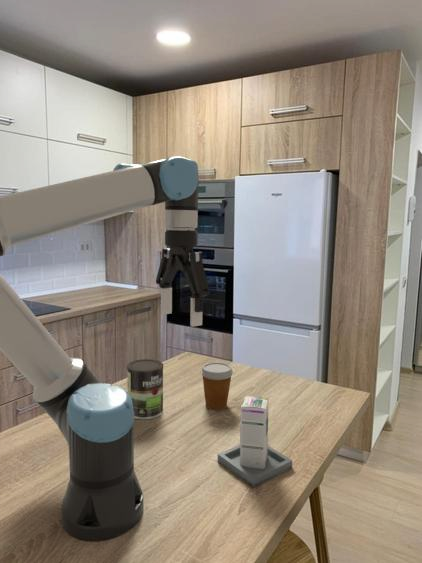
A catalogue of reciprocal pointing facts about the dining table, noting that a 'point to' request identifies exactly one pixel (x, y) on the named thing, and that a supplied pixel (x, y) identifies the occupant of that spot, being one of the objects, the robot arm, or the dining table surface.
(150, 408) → the coffee can
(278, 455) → the tray
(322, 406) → the dining table surface
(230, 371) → the disposable coffee cup
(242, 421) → the syrup box
